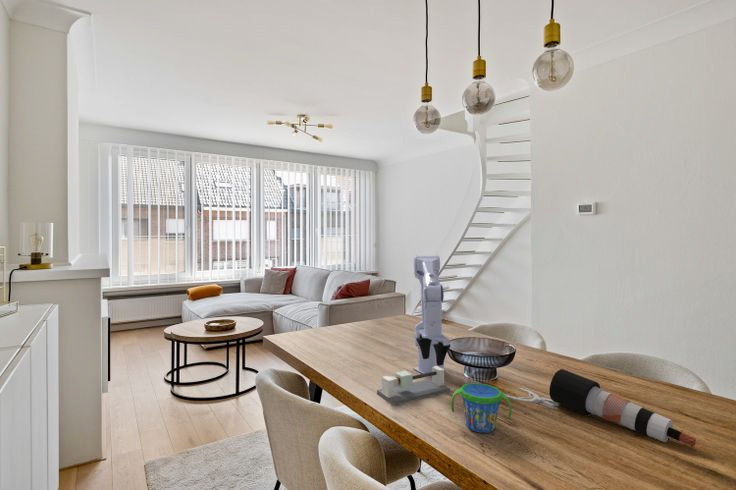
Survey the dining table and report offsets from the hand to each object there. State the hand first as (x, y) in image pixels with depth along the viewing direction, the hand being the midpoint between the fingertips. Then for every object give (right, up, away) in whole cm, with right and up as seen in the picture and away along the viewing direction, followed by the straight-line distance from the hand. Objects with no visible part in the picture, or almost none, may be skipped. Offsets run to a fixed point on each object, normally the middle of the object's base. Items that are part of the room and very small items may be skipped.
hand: (432, 361), depth 133 cm
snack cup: (+9, -10, -26) cm, 29 cm away
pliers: (+30, -10, -7) cm, 33 cm away
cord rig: (-7, -9, -2) cm, 12 cm away
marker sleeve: (-10, -6, -4) cm, 13 cm away
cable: (+46, -10, -24) cm, 53 cm away
